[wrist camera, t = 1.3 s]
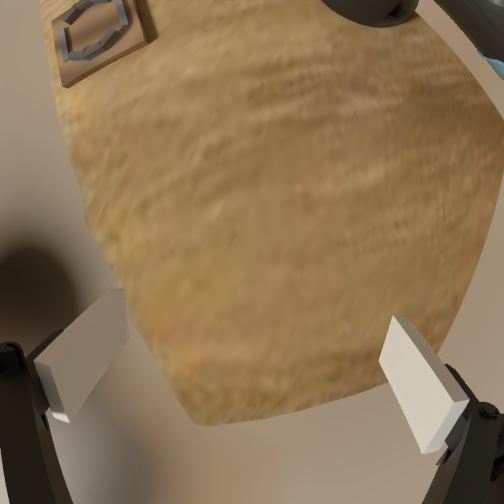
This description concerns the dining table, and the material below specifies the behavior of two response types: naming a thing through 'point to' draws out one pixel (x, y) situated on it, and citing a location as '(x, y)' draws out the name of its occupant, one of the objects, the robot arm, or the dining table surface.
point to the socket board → (95, 36)
